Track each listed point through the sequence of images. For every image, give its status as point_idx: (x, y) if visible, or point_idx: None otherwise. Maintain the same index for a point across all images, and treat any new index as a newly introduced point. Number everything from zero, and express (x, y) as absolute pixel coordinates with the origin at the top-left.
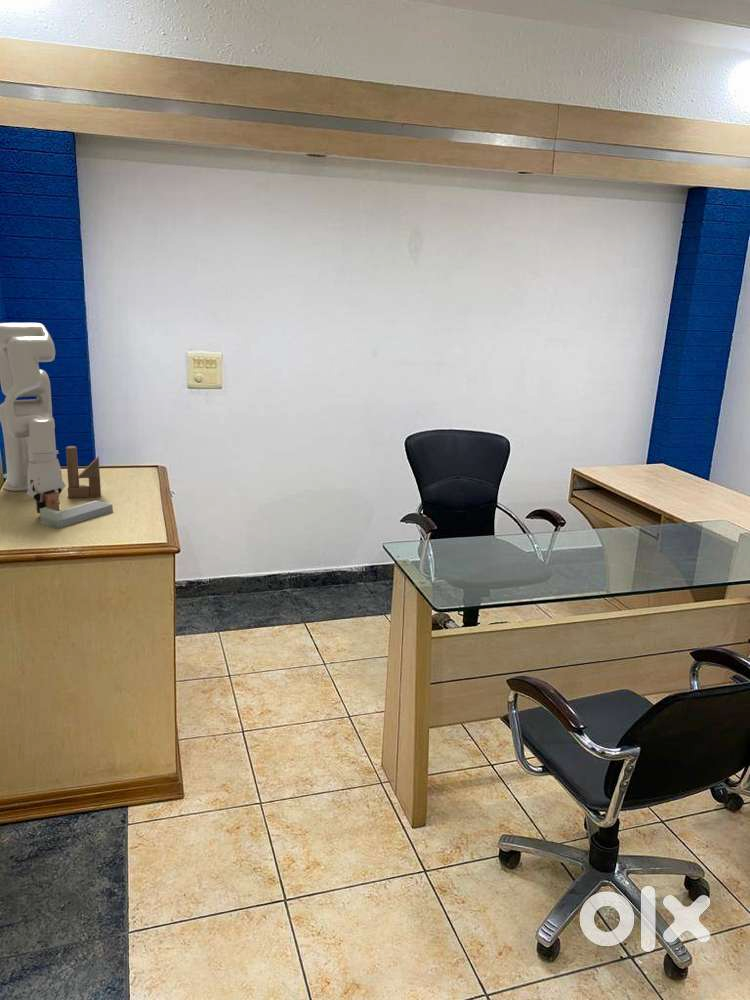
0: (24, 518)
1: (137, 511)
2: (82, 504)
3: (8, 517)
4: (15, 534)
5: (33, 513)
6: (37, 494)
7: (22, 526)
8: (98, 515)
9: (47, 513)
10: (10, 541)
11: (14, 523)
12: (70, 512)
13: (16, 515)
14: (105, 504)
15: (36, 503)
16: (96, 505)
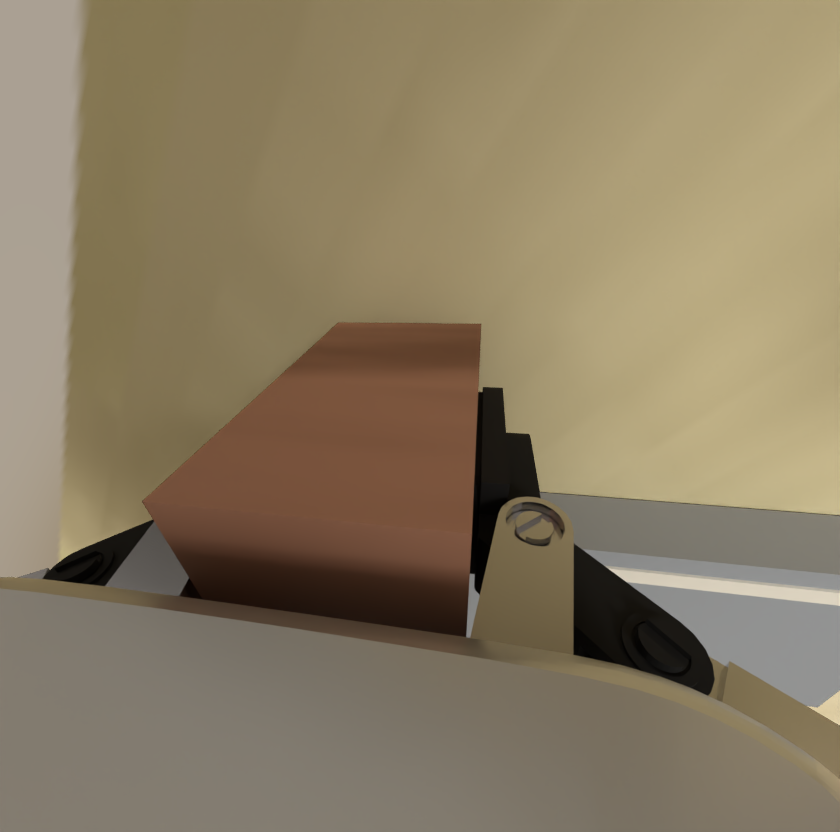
0: (227, 267)
1: (835, 714)
2: (731, 571)
3: (79, 69)
4: (100, 492)
5: (373, 178)
6: (166, 583)
7: (162, 422)
8: None
9: None
10: (69, 536)
11: (118, 322)
12: (470, 608)
13: (180, 69)
14: (805, 680)
15: (287, 374)
16: (744, 652)
